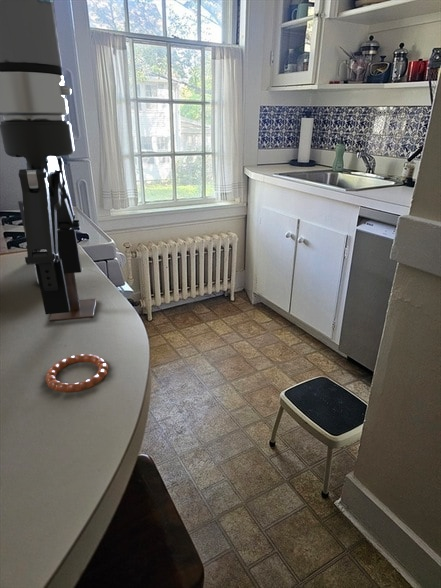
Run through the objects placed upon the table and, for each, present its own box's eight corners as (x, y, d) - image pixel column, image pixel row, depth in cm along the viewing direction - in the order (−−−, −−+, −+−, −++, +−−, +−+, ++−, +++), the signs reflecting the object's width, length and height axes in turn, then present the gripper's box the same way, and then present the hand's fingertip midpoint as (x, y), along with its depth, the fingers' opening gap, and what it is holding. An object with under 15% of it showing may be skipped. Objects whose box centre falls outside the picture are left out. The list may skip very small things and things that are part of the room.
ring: (52, 363, 62) (50, 356, 62) (109, 357, 64) (108, 350, 63) (41, 399, 54) (39, 391, 54) (106, 391, 56) (105, 383, 55)
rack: (56, 306, 81) (46, 250, 76) (96, 302, 82) (88, 248, 77) (49, 324, 74) (37, 264, 69) (93, 320, 75) (85, 261, 70)
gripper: (51, 118, 34) (86, 331, 43) (80, 118, 56) (99, 258, 65) (-45, 119, 33) (12, 339, 41) (24, 118, 55) (52, 261, 63)
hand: (65, 290), depth 53 cm, fingers open, 13 cm apart
